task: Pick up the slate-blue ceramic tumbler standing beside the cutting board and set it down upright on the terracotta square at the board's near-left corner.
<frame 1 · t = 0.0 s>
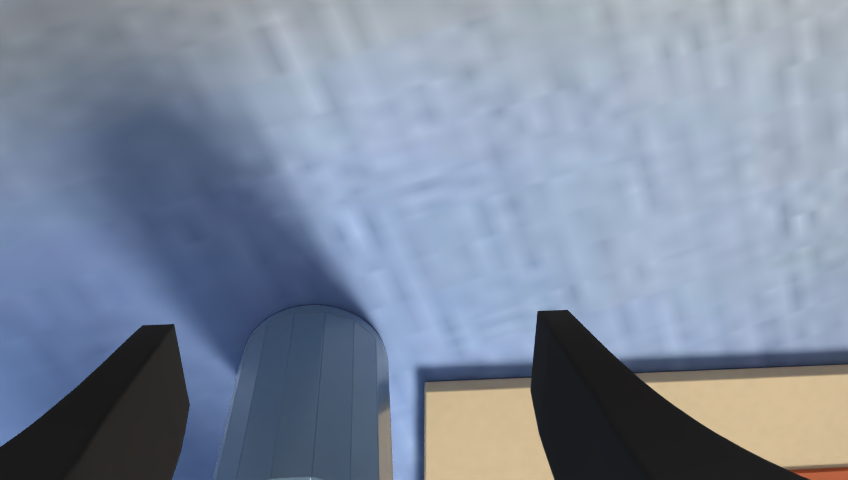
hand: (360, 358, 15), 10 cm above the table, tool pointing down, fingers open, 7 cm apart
tumbler: (315, 364, 27), on the table
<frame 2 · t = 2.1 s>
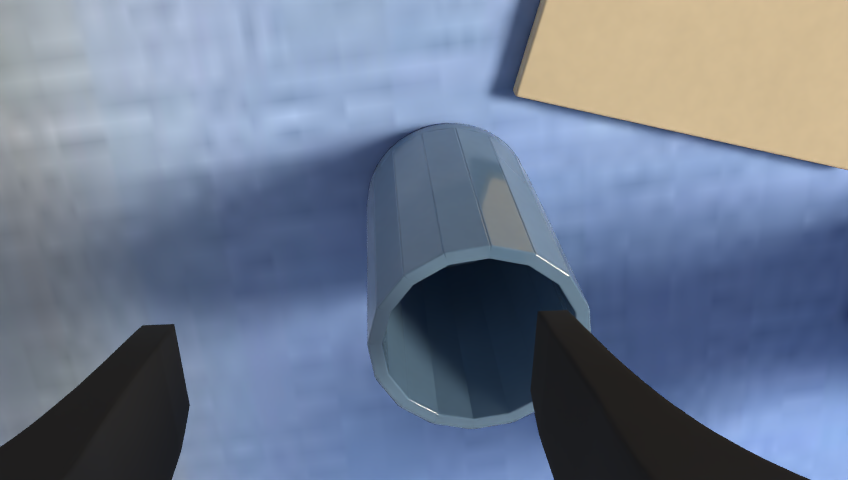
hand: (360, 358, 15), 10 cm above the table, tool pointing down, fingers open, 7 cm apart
tumbler: (448, 198, 25), on the table
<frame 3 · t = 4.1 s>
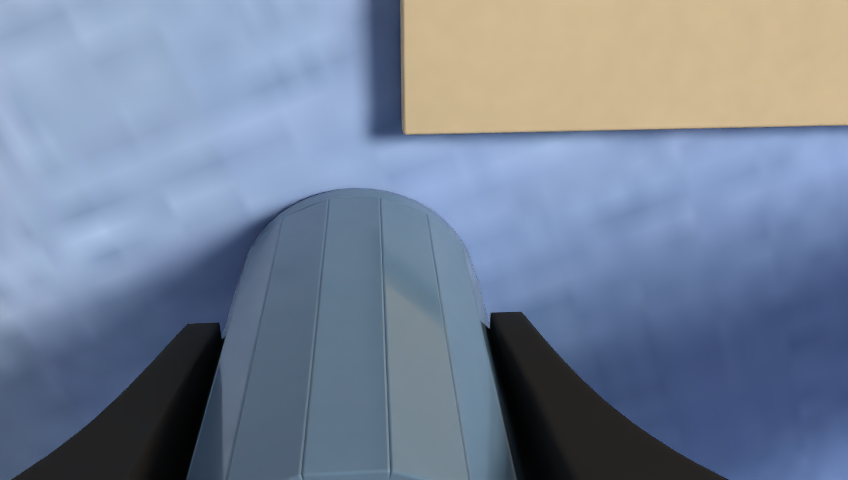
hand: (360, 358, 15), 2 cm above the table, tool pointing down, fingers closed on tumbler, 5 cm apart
tumbler: (359, 292, 17), on the table, touching gripper
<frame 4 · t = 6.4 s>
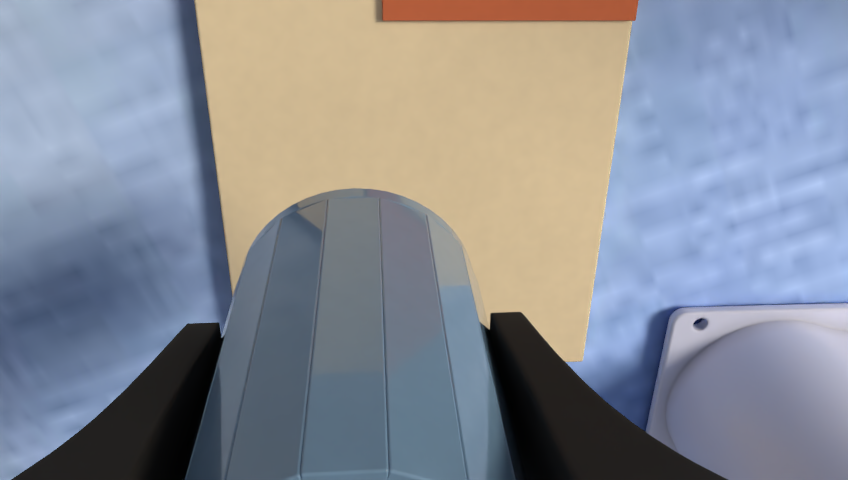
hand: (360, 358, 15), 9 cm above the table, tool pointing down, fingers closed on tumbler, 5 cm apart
cutting board: (416, 84, 22), on the table
tumbler: (358, 292, 17), point 7 cm above the table, touching gripper
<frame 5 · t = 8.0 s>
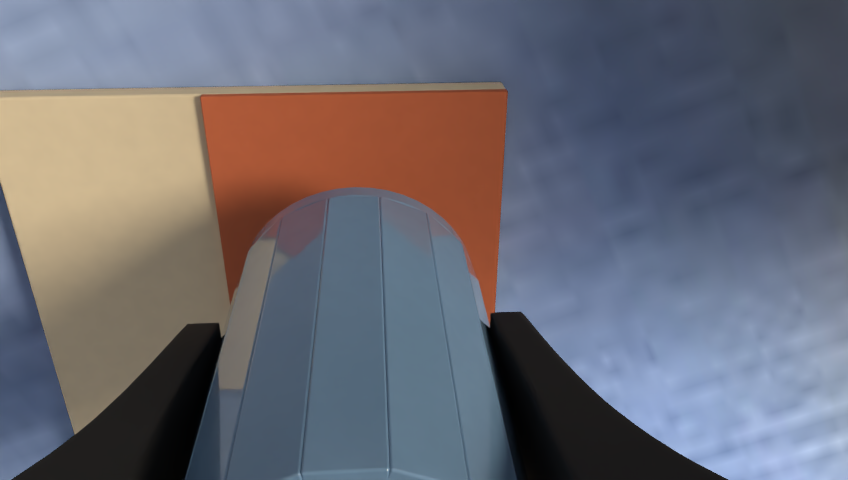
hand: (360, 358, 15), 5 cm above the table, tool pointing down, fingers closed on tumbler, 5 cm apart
cutting board: (285, 411, 22), on the table
tumbler: (359, 291, 17), point 3 cm above the table, touching gripper
when the fingers open (3 cm above the table, at t = 9.2 s): tumbler stays where it is, resting on cutting board.
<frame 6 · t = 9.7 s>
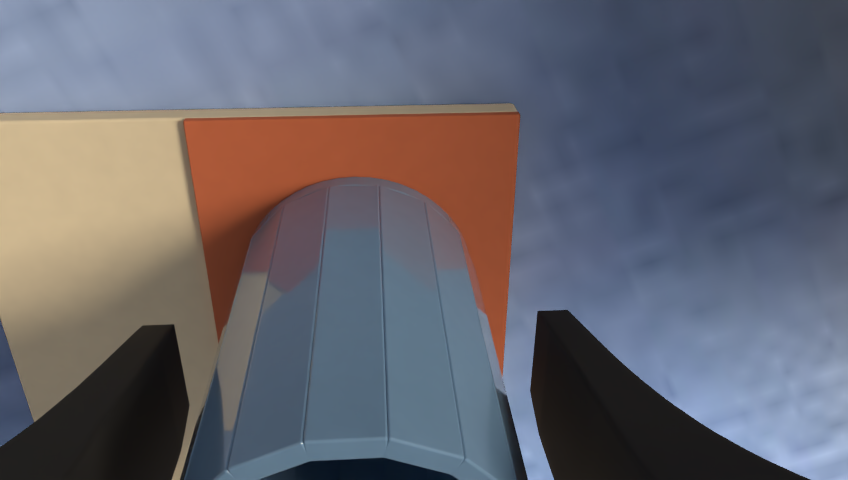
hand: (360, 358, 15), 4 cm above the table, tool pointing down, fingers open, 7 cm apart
cutting board: (279, 451, 21), on the table
tumbler: (358, 279, 17), point 1 cm above the table, touching cutting board
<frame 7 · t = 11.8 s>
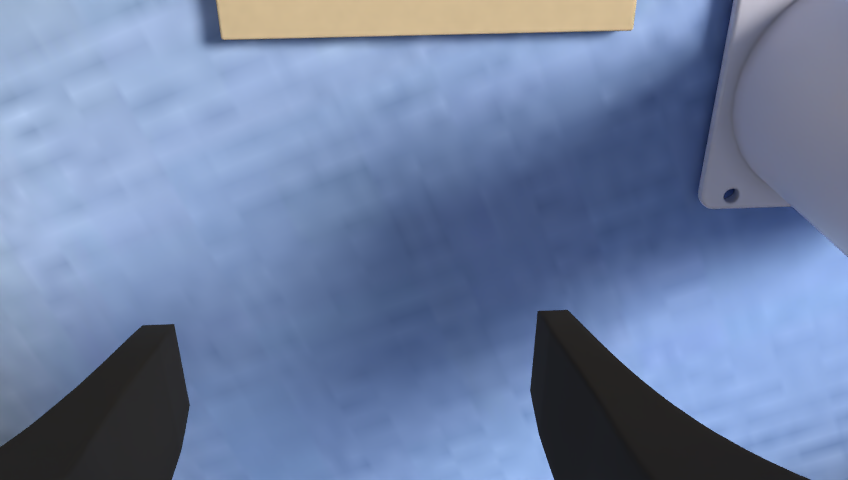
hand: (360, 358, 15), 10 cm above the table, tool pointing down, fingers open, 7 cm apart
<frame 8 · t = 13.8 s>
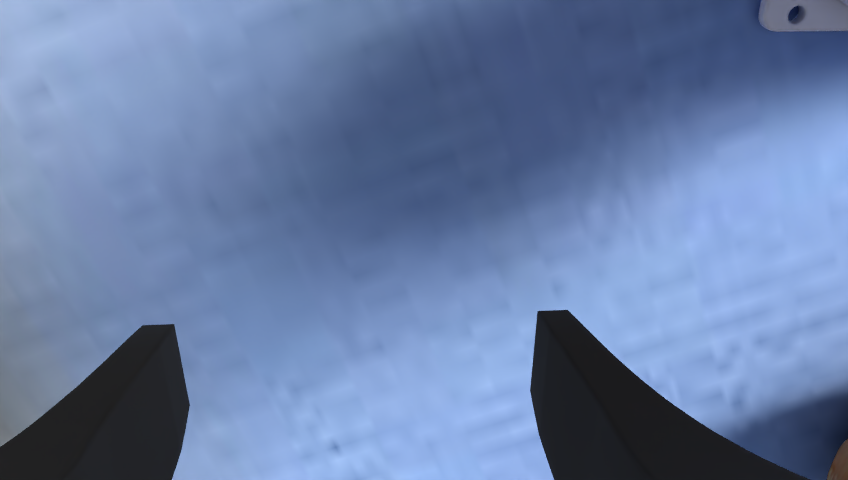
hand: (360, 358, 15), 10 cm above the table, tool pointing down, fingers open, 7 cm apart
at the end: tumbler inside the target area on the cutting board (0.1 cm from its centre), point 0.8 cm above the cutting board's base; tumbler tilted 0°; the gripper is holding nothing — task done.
